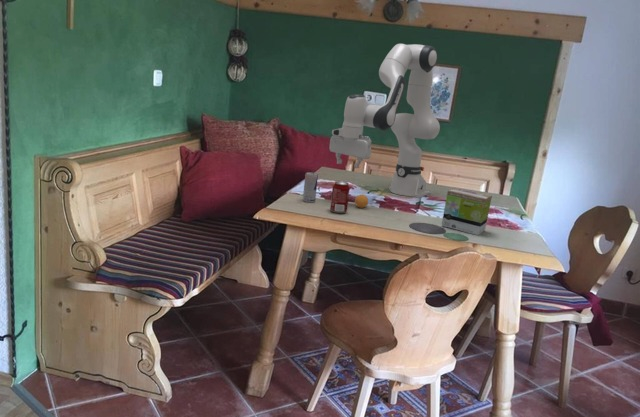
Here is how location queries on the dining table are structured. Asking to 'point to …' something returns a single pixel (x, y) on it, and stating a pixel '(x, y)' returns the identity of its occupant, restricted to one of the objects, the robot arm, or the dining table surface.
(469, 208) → the tea box
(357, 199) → the ball
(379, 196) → the dining table surface
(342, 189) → the soda can
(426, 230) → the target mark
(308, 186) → the energy drink
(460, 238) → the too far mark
